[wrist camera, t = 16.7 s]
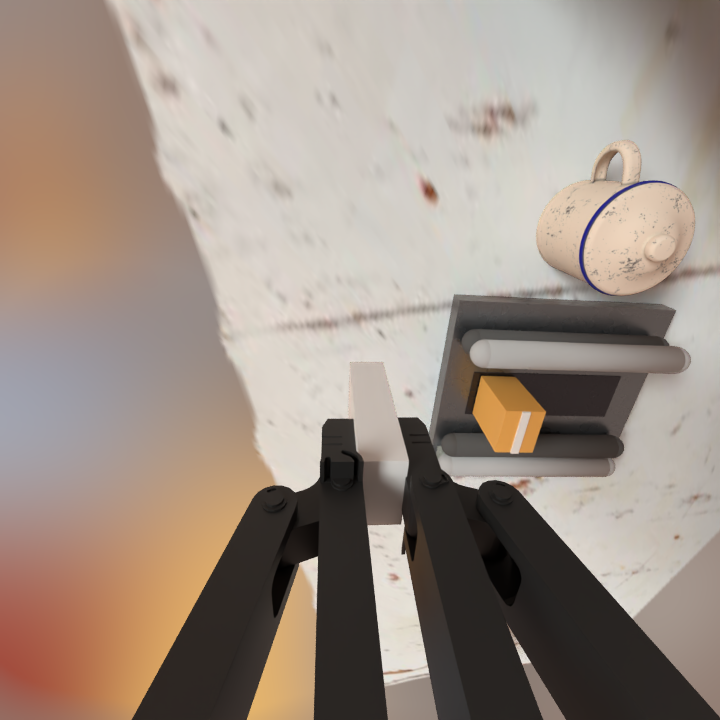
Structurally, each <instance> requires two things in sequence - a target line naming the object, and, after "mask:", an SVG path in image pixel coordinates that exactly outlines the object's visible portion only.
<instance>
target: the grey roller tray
mask: <svg viewBox="0 0 720 720" xmlns="http://www.w3.org/2000/svg"><path fill="white" fill-rule="evenodd" d="M675 312H676V310H674V309H672V308H669V307H667V306H665V305H662V304H643V303H622V302H601V301H580V300H559V299H538V298H517V297H496V296H475V295H454V298H453V304H452V309H451V315H450V320H449V326H448V331H447V337H446V342H445V348H444V353H443V359H442V364H441V370H440V375H439V381H438V386H437V392H436V397H435V403H434V408H433V414H432V419H431V425H430V430H429V436H430V439H431V443H432V445H433V447H434V450H435V453H436V456H437V458H439V457H440V456H441V455H442V454H444V452H443V450H442V448H441V441H442V439H443V437H444V436H445V435H447V434H449V433H484V432H483V431H482V429H481V427H480V425H479V424H478V422H477V420H476V418H475V417H474V415H473V409H474V404H475V400H476V396H477V392H478V387H479V383H480V379H481V376H504V377H516V378H517V379H518V380H519V381H520V383H521V384H522V385H523V386H524V387H525V388H526V389H527V391H528V392H529V393H530V394H531V395H532V396H533V397H534V399H535V400H536V401H537V402H538V403H539V404H540V405H541V407H542V408H543V409H544V410H545V411H546V414H545V417H544V420H543V423H542V426H541V429H540V432H539V434H580V435H613V436H616V437H618V438H619V436H620V434H621V432H622V430H623V427H624V425H625V423H626V421H627V419H628V416H629V414H630V412H631V410H632V407H633V405H634V403H635V401H636V398H637V396H638V394H639V392H640V390H641V387H642V385H643V383H644V381H645V378H646V376H647V374H648V373H633V372H600V371H566V370H532V369H498V368H481V367H478V366H476V365H475V364H474V363H473V362H472V360H471V358H470V355H469V354H467V353H466V352H465V351H464V349H463V347H462V338H463V336H464V334H465V333H466V332H468V331H469V330H472V329H490V330H515V331H541V332H566V333H591V334H617V335H642V336H658V337H661V338H664V336H665V334H666V332H667V329H668V327H669V325H670V323H671V320H672V318H673V316H674V314H675Z"/></svg>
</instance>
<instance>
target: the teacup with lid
mask: <svg viewBox="0 0 720 720" xmlns="http://www.w3.org/2000/svg"><path fill="white" fill-rule="evenodd" d="M617 152H619V153H620V154H621V156H622V159H623V175H622V182H615V181H606V176H607V170H608V166H609V164H610V161H611V160H612V158H613V157H614V155H615V154H616V153H617ZM640 171H641V154H640V151H639V149H638V147H637V145H636V144H635V143H634V142H632V141H629V140H622V141H617V142H614V143H611V144H610V145H608V146H607V147H605V148H604V149H603V150H602V151H601V153H600V154H599V155H598V157H597V159H596V161H595V163H594V166H593V170H592V175H591V180H585V181H580V182H577V183H574V184H571V185H569V186H568V187H566V188H564V189H563V190H561V191H560V192H559V193H558V194H556V195H555V196H554V197H553V198H552V199H551V201H550V202H549V203H548V204H547V206H546V207H545V209H544V211H543V212H542V214H541V217H540V219H539V222H538V226H537V232H536V241H537V246H538V250H539V252H540V254H541V256H542V258H543V259H544V260H545V261H546V262H547V263H548V264H549V265H551V266H552V267H554V268H557V269H559V270H561V271H563V272H565V273H567V274H569V275H572V276H574V277H576V278H578V279H580V280H582V281H585V282H587V283H588V284H589V285H590V286H591V287H593V288H594V289H595V290H597V291H599V292H601V293H604V294H607V295H613V296H625V295H632V294H636V293H639V292H642V291H645V290H647V289H649V288H651V287H653V286H655V285H657V284H658V283H660V282H661V281H662V280H664V279H665V278H666V277H667V276H668V275H670V274H671V273H672V272H673V271H674V270H675V268H676V267H677V266H678V265H679V264H680V262H681V261H682V259H683V258H684V256H685V255H686V253H687V251H688V249H689V247H690V244H691V241H692V238H693V235H694V229H695V215H694V210H693V207H692V204H691V202H690V201H689V199H688V197H687V196H686V195H685V194H684V193H683V192H682V191H681V190H680V189H678V188H677V187H676V186H674V185H672V184H669V183H667V182H663V181H643V182H639V177H640Z"/></svg>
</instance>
